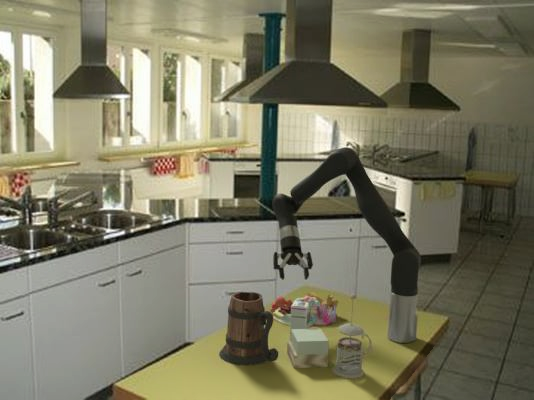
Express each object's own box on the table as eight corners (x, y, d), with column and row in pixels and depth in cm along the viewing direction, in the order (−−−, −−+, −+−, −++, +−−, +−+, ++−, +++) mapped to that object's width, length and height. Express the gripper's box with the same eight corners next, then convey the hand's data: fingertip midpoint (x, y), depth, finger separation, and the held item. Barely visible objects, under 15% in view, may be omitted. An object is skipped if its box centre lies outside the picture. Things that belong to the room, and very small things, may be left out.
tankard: (208, 351, 191) (210, 293, 188) (248, 339, 202) (250, 284, 199) (254, 378, 174) (256, 315, 171) (294, 363, 185) (297, 303, 182)
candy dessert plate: (297, 302, 244) (298, 281, 242) (347, 315, 230) (348, 293, 229) (262, 318, 224) (263, 295, 222) (314, 334, 210) (315, 310, 209)
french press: (329, 364, 186) (334, 289, 182) (365, 364, 187) (370, 289, 183) (335, 378, 176) (340, 299, 172) (373, 378, 177) (379, 300, 173)
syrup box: (306, 347, 198) (308, 307, 195) (289, 345, 199) (290, 305, 196) (308, 341, 203) (310, 301, 201) (291, 339, 204) (293, 300, 202)
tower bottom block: (319, 353, 194) (319, 340, 194) (327, 367, 184) (328, 354, 183) (286, 354, 193) (287, 341, 192) (293, 369, 182) (294, 355, 181)
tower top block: (319, 341, 193) (320, 328, 192) (327, 354, 183) (328, 340, 183) (290, 342, 191) (291, 329, 191) (296, 355, 182) (297, 341, 181)
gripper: (272, 234, 214) (276, 273, 204) (310, 235, 216) (316, 273, 207) (269, 245, 220) (273, 283, 210) (306, 245, 222) (312, 283, 213)
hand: (294, 278), depth 209 cm, fingers open, 8 cm apart
